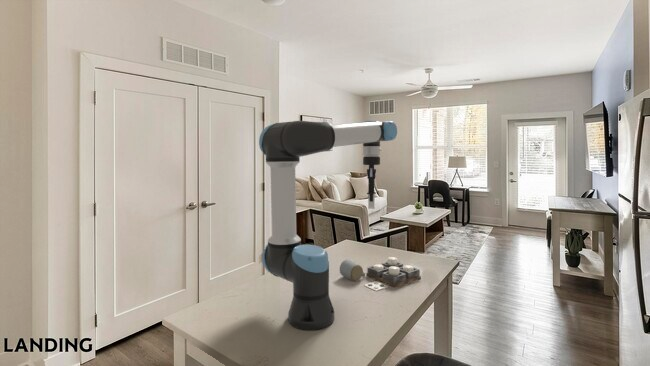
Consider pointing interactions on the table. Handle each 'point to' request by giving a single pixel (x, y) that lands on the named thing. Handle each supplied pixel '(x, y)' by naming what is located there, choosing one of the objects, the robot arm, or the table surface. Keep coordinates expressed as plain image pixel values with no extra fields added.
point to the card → (376, 286)
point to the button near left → (378, 267)
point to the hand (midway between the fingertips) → (371, 208)
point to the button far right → (408, 268)
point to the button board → (390, 280)
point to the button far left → (392, 261)
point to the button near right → (394, 271)
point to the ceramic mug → (351, 270)
